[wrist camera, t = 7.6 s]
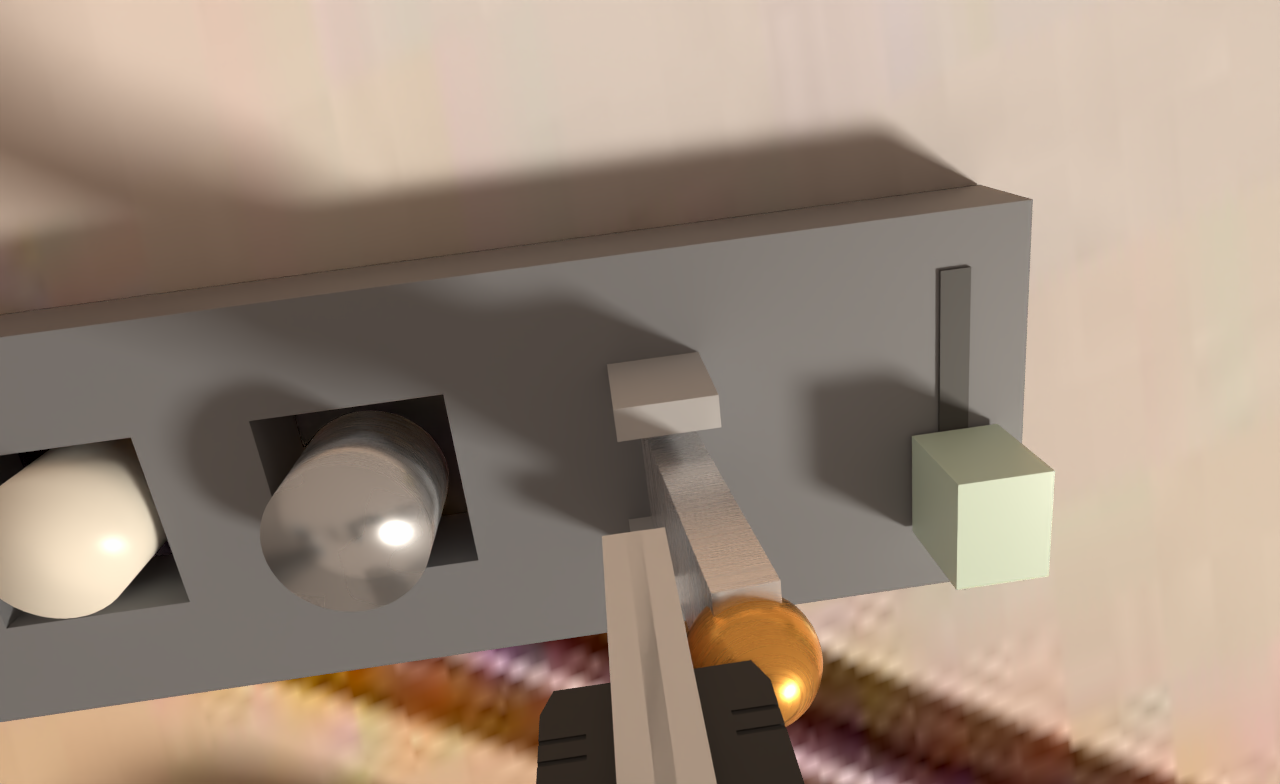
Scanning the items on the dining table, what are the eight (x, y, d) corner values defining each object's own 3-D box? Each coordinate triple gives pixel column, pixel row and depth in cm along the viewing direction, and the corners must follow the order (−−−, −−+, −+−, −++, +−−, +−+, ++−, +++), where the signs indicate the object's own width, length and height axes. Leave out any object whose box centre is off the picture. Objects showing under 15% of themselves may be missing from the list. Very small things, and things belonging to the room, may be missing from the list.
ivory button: (70, 558, 26) (-1, 628, 23) (21, 437, 25) (-63, 494, 21) (204, 539, 26) (152, 606, 23) (162, 418, 25) (101, 471, 21)
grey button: (321, 549, 25) (284, 622, 21) (285, 421, 23) (239, 478, 20) (461, 529, 25) (445, 598, 22) (433, 401, 23) (411, 454, 20)
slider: (912, 530, 25) (956, 590, 22) (911, 435, 24) (957, 484, 21) (994, 519, 25) (1048, 576, 22) (997, 423, 24) (1054, 470, 21)
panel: (51, 656, 27) (-87, 813, 22) (-94, 327, 24) (-309, 410, 18) (971, 522, 28) (1075, 637, 23) (979, 184, 25) (1107, 220, 19)
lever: (629, 526, 23) (708, 793, 14) (615, 422, 22) (690, 644, 13) (717, 510, 23) (846, 762, 15) (707, 406, 22) (840, 614, 13)
